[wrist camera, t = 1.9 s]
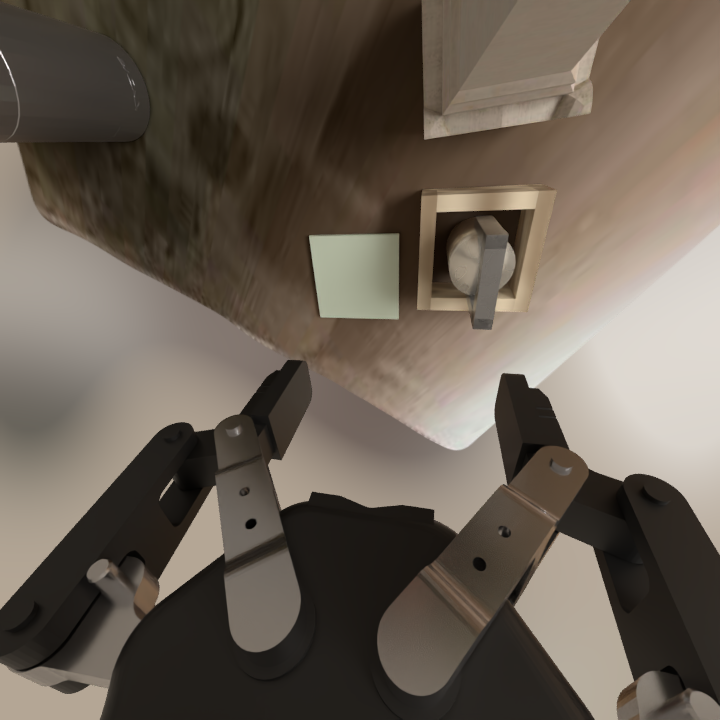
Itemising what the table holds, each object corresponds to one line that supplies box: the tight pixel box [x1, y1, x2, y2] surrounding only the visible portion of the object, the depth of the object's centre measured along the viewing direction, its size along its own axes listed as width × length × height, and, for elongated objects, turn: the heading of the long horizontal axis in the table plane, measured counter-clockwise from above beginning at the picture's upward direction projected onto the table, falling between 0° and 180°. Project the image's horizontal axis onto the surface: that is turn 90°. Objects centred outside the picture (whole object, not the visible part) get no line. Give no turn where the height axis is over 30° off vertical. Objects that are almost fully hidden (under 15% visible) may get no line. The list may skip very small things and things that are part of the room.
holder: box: [417, 184, 557, 312], centre depth 36 cm, size 12×12×5 cm
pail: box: [446, 215, 516, 330], centre depth 33 cm, size 6×8×13 cm
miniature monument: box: [422, 0, 630, 140], centre depth 17 cm, size 10×10×30 cm
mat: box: [309, 233, 399, 319], centre depth 42 cm, size 11×11×1 cm
